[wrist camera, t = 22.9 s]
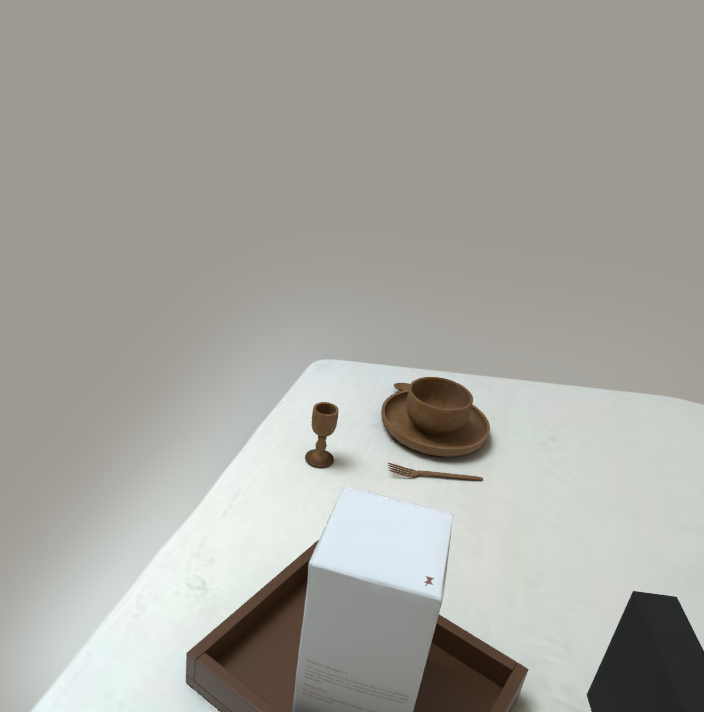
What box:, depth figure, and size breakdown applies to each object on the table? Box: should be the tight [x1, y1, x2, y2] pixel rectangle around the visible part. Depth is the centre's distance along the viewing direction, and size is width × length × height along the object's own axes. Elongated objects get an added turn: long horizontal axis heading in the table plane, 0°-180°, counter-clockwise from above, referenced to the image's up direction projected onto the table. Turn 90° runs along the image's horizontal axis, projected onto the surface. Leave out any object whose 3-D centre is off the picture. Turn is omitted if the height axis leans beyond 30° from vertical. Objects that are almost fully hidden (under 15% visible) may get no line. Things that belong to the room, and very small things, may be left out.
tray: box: [186, 540, 528, 712], centre depth 43 cm, size 18×14×3 cm
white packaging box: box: [293, 486, 453, 712], centre depth 41 cm, size 7×7×13 cm
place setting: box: [305, 377, 490, 480], centre depth 71 cm, size 18×20×6 cm
